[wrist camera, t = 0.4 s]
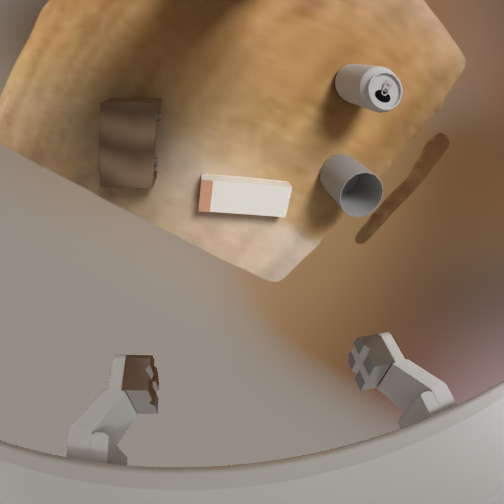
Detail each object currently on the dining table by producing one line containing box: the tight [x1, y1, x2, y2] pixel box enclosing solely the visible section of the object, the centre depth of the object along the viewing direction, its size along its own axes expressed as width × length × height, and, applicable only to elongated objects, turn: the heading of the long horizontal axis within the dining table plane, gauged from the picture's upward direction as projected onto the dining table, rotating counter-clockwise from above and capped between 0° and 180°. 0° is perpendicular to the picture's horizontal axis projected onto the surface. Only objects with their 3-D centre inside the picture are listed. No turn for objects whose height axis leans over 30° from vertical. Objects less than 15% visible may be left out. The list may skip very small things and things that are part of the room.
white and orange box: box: [199, 174, 292, 217], centre depth 55 cm, size 6×16×3 cm, turn 81°
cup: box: [320, 154, 383, 217], centre depth 53 cm, size 8×8×10 cm
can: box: [335, 64, 403, 113], centre depth 42 cm, size 8×8×12 cm
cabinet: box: [100, 99, 162, 188], centre depth 45 cm, size 14×10×6 cm
